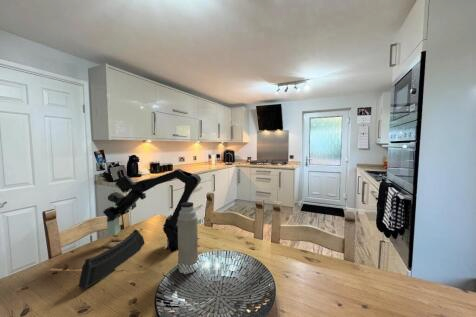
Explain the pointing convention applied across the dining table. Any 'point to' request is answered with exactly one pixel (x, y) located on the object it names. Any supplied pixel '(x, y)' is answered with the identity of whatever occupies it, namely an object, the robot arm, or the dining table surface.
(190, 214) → the thermos bottle
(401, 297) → the dining table surface
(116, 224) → the pale green block
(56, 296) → the dining table surface
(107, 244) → the rack
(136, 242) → the magazine
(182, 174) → the robot arm
